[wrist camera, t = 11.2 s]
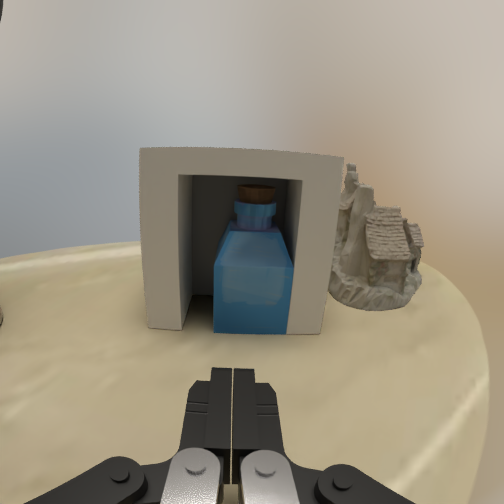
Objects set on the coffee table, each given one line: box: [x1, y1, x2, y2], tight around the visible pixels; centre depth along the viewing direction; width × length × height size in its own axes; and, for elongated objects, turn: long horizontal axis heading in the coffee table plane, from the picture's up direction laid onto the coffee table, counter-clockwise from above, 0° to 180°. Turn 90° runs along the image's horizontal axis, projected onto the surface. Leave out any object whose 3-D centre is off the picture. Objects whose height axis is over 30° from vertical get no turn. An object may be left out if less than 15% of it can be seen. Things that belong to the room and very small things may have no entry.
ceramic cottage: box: [328, 163, 424, 311], centre depth 36 cm, size 16×16×15 cm
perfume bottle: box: [214, 184, 294, 334], centre depth 27 cm, size 6×6×12 cm
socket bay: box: [139, 147, 344, 334], centre depth 28 cm, size 15×9×15 cm, turn 92°
